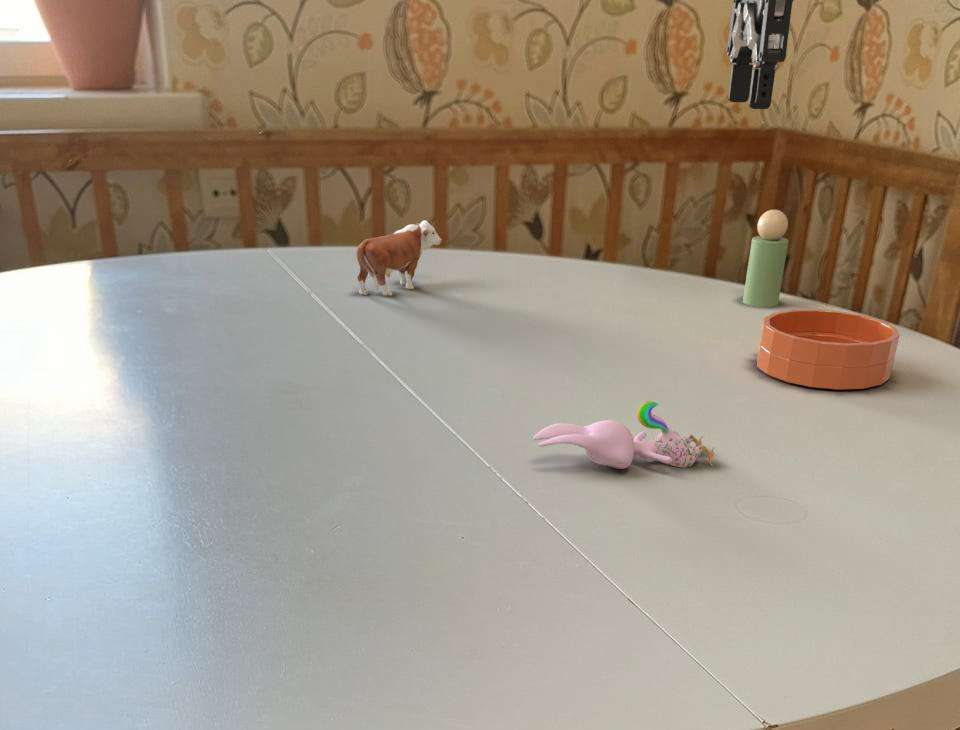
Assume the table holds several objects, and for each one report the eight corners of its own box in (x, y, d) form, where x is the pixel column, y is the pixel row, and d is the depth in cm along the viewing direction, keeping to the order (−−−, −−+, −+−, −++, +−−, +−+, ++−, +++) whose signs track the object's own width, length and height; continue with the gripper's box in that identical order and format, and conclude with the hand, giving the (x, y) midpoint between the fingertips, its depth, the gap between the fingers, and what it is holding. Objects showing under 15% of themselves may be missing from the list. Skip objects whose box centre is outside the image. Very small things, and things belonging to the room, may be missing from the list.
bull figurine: (446, 286, 138) (446, 220, 134) (370, 303, 130) (368, 234, 125) (423, 280, 141) (422, 215, 136) (347, 296, 132) (344, 228, 128)
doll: (769, 300, 135) (784, 206, 129) (783, 309, 131) (799, 212, 125) (736, 301, 134) (750, 206, 128) (750, 310, 131) (765, 213, 125)
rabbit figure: (684, 463, 91) (521, 447, 86) (704, 396, 88) (535, 376, 83) (714, 491, 85) (541, 476, 81) (735, 422, 83) (558, 402, 78)
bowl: (850, 354, 115) (859, 308, 113) (912, 392, 104) (924, 342, 102) (736, 357, 113) (744, 310, 111) (787, 397, 102) (797, 346, 100)
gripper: (830, -78, 100) (802, 111, 108) (786, -70, 112) (763, 100, 121) (753, -79, 100) (730, 111, 108) (717, -71, 112) (699, 99, 120)
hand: (748, 105), depth 114 cm, fingers open, 8 cm apart
